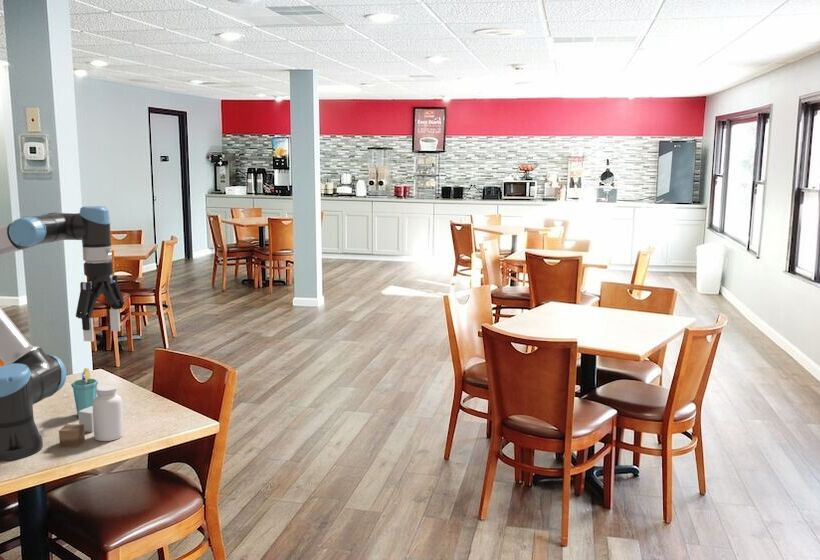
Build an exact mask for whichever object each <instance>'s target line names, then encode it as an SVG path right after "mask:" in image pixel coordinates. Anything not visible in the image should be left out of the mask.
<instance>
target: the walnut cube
mask: <svg viewBox="0 0 820 560" xmlns="http://www.w3.org/2000/svg"><path fill="white" fill-rule="evenodd" d="M58 436H59V437H58V438H59V448H80V446H81V445H82V444H83V443H84V442H85V441H86V439H85V436H86V435H85V431H84V424H77V423H75V424H73V423H72V424H71V423H70V424H65V425H64V426H62V427H61V428H60V429H59V430H58Z"/></svg>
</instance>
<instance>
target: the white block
mask: <svg viewBox="0 0 820 560" xmlns="http://www.w3.org/2000/svg"><path fill="white" fill-rule="evenodd" d="M78 414H79V416H78V423H79V424H84V432H87V433H92V434H94V423H93V406H90V407H88V408H85V409H83V410H80V411H78Z"/></svg>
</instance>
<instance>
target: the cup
mask: <svg viewBox="0 0 820 560" xmlns="http://www.w3.org/2000/svg"><path fill="white" fill-rule="evenodd" d="M81 377H82V379H77V380H75V381H73V382H72V383H71V384H70V385H71V388H72V390H73V391H72V392H73V397H74V402H75V407H76V414H77V416H78V417H79V414H78V411H80V410H83V409H85V408H88V407H90V406H93V400H94V398H96V397H97V388H98V384H99V381H98V380H97V379H94V378H91V372H90V369H89V368H87V367H86V368H84V369H83V371H82V375H81Z"/></svg>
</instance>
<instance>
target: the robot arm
mask: <svg viewBox="0 0 820 560" xmlns="http://www.w3.org/2000/svg"><path fill="white" fill-rule="evenodd" d="M110 217H111V216H110V211H109V209H108V207H106V206H102V205H86V206H81V207H80V208H79V212H78V213H68V212H67V213H65V212H56V211H55V212H47V213H46V212H45V213H42V214H40V215H36V216H30V215H29V216H28V215H27V216H23V217H20V218H17V219H15V220H13V222H10V223H7V224H4V225H1V226H0V257H4V256H7V255H10V254H13V253H15V252H20V251H22V250H25V249H29V248H33V247H35V246H38V245H43V244H48V243H53V242H59V241H81V245H82V260H83V262H84V263H83V275H84V276H86V277H87V279H88V280H87V281H81V282H80V285H79V286H80V291H79V297H78V302H77V307H76V313H75V317H76V318H77V319H81V325H82V326H81V327H82V328H81V329H82V334H83V335H82V336H83V342H91V343H92V342H94V341H95V331H94V318H93V317H92V313H93V311H94V308H95V305H96V303H97V300H98V298H99V297H100V296H101V295H103V296H104V297H105V300H106V301H107V303H108V304H109V306H110V307H111V308H110V309H109V323H110V331H111V332H121V311H120V309H123V308H124V305H125V300H124V297H123V294H122V292H121V289H120V286H119V283H118V276H117V274H116V275H113V273H114V268H113V265H114V264H113V261H111V260H112V259H113V254H112V253H113V252H112V242H111V238H112V236H111V224H112V223H111V218H110ZM0 360H1V361H2V362H3V365H0V462H3V461H5V462H6V461H12V460H13V461H14V460H17V459H22V458H25V457H29V456H32V455H34V454H35V453H37V452H39V451H40V450H41V449H43V447H44V443H43V442H44V441H43V437H42V435H41V434H40V432H39V430H38V426H37V425H36V422H35V418H34V406H33V405H35V404H37V403H39V402H41V401H43V400H45V399H47V398H49V397H52V396H53V395H54V394H56V393H57V392H59V391H60V390H61V389H62V388H63V386H64V385H65V383H66V380H67V369H66V365H65V363H64V362H63V361H62V359H60V358H59V357H58V356H57V355H52V354H46V353H45V351H44V350H43V349H42V348H41V347H40V346H38V345H37V346H36V345H32V344H31V343H30V342H29V341H28V339H27V338H26V337H25V336H24V334H23V333H22V332H21V331H20V329H19V328H18V327H17V326H16V325H15V323H14V322H13V321H12V319H11V318H10V317H9V316H8V315H7V313H6V312H5V311H4V310H3V308H2V307H1V306H0Z"/></svg>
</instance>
